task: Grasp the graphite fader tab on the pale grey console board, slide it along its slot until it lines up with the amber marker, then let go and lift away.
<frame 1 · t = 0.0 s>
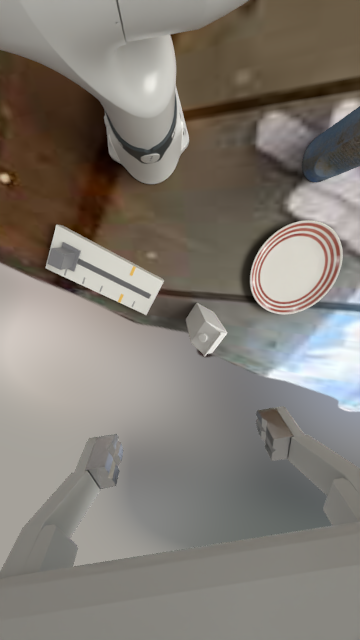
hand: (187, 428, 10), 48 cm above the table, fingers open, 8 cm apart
milk carton: (199, 315, 60), on the table
fader tab: (63, 258, 44), point 6 cm above the table, slide at 0.0 cm
console board: (109, 273, 52), on the table
dinner plate: (289, 270, 56), on the table
bottle: (319, 159, 44), on the table
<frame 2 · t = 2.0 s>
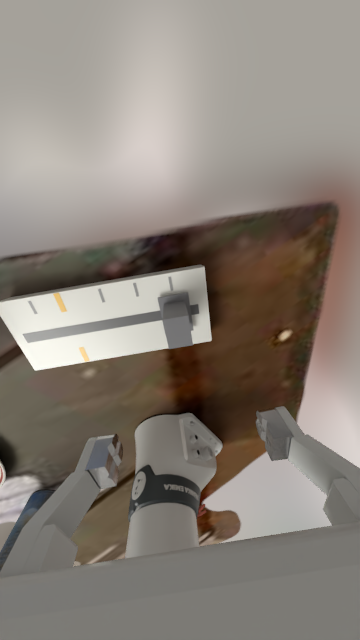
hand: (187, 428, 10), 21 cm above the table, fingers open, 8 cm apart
fader tab: (177, 322, 24), point 6 cm above the table, slide at 0.0 cm
console board: (116, 316, 30), on the table
bottle: (49, 497, 51), on the table
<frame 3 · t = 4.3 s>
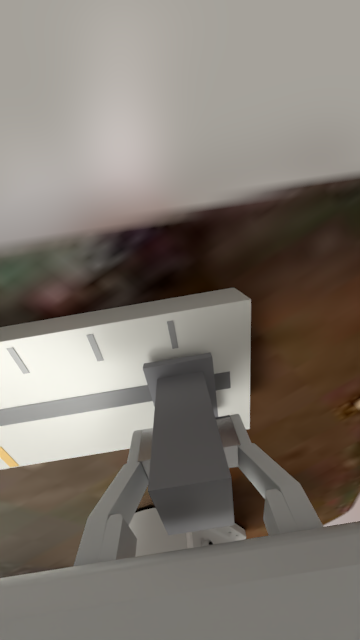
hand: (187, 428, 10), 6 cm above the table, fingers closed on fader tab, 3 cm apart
fader tab: (188, 434, 10), point 6 cm above the table, slide at 0.0 cm, touching gripper
console board: (71, 380, 16), on the table
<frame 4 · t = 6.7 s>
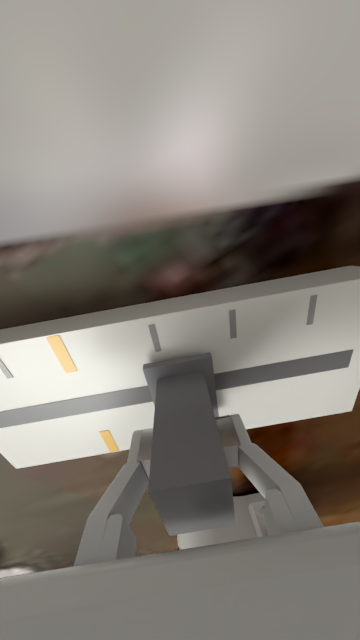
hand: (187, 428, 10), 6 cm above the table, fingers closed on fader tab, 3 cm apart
fader tab: (188, 434, 10), point 6 cm above the table, slide at 8.9 cm, touching gripper
console board: (168, 364, 16), on the table
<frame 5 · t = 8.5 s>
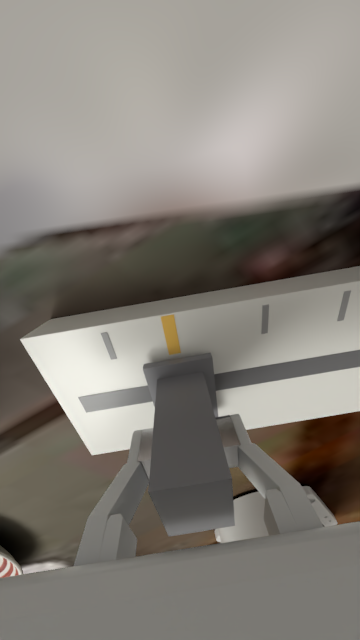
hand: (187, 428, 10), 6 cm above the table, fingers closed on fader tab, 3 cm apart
fader tab: (188, 434, 10), point 6 cm above the table, slide at 15.9 cm, touching gripper
console board: (245, 351, 16), on the table
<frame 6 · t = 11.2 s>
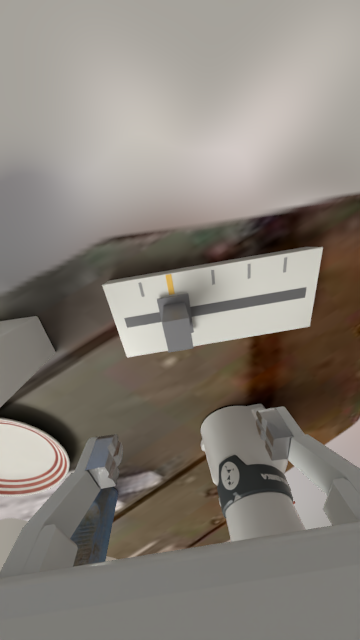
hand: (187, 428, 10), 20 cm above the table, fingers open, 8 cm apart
milk carton: (27, 337, 29), on the table
fader tab: (177, 324, 23), point 6 cm above the table, slide at 15.9 cm
console board: (210, 301, 29), on the table
dinner plate: (12, 446, 41), on the table
bottle: (101, 491, 50), on the table
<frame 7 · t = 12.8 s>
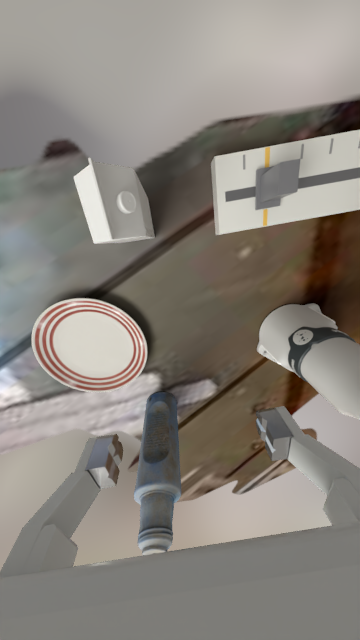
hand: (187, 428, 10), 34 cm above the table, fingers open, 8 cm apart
milk carton: (134, 221, 36), on the table
fader tab: (277, 183, 29), point 6 cm above the table, slide at 15.9 cm
console board: (288, 188, 35), on the table
dinner plate: (96, 344, 47), on the table
bottle: (161, 402, 56), on the table
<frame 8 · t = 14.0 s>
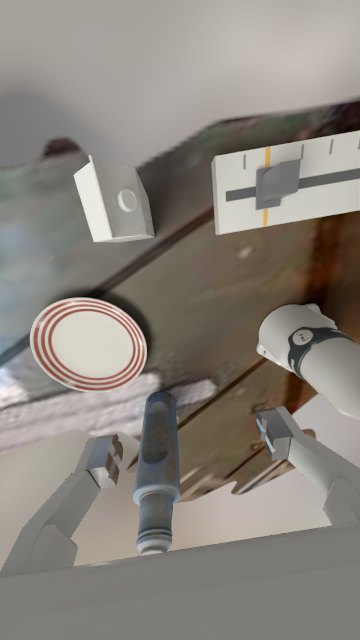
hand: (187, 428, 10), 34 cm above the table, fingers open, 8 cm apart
milk carton: (134, 220, 35), on the table
fader tab: (277, 183, 29), point 6 cm above the table, slide at 15.9 cm
console board: (288, 188, 35), on the table
dinner plate: (95, 344, 47), on the table
bottle: (161, 402, 56), on the table
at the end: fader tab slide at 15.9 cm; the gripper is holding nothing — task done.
